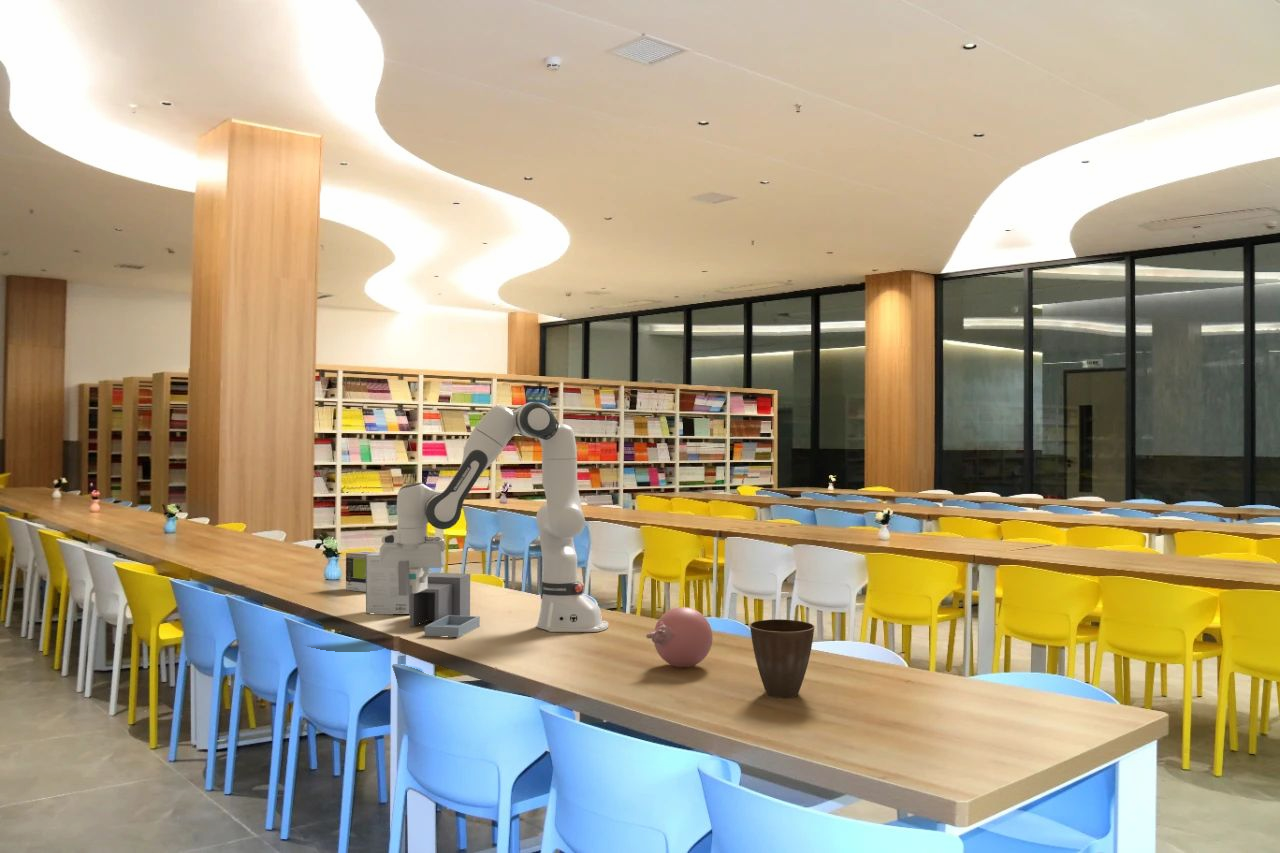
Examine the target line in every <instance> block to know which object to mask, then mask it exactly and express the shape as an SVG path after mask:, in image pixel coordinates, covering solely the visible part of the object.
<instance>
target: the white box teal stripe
mask: <svg viewBox="0 0 1280 853" xmlns="http://www.w3.org/2000/svg"><path fill="white" fill-rule="evenodd" d="M423 574H424V571H423V568H409V561H399V562H398V581H399V596H407V595H409V594H412V593H418V592H420V591H423V590H425V589H428V578H427V576H426V582H425V583H420V582H419V581H420V580H419V577H421V576H423Z"/></svg>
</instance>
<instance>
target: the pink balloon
mask: <svg viewBox="0 0 1280 853" xmlns="http://www.w3.org/2000/svg"><path fill="white" fill-rule="evenodd" d="M645 637H646V639H651V641H652V643H653V644H654V648H655V650H656V652H657V654H658V655H659V657H660V658H661V659H662V660H663V661H665V662H666V663H667V664H668V665H671V666H673V667H677V668H689V667H693V666H695V665H696V666H697V665H698V664H700V662H703V660H704V659H705V658H706V657H707V656H708V654H709V653H710V650H711V648H712V645H713V639H714V637H713V630H712V627H711V624H710V622H709V621H708V619H707V618H706V616H705V615H703V613H701V612H700V611H698V610H696V609H694V608H691V607H687V606H680V607H673V608H671V609H670V610H668V611H665V613H664V614H662V615H661V617H659V619H658V620H657V622H656V624H655V627H654V630H653V631H652V632H649V633H647V634H646V636H645Z"/></svg>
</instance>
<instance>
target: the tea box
mask: <svg viewBox="0 0 1280 853" xmlns="http://www.w3.org/2000/svg"><path fill="white" fill-rule="evenodd" d="M373 553H380V551H372V550H360V551H352V552H351V551H350V552H345V590H347V591H353V592H355V591H356V592H363V593H364V592H365V593H366V555H369V554H373Z"/></svg>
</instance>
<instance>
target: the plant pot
mask: <svg viewBox="0 0 1280 853" xmlns="http://www.w3.org/2000/svg"><path fill="white" fill-rule="evenodd" d="M749 628H750V635H751V636H750V637H751V641H752V642H751V643H752V648H753V653H754V657H755V662H756V666H757V669H758V673H759V676H760V679H761V682H762V685H763V688H764V691H765V693H766V695H768V696H771V697H774V698H784V699H785V698H794V697H797V696H798V695H799V692H800V690H801V687H802V685H803V682H804V679H805V676H806V671H807V669H808V665H809V661H810V657H811V652H812V646H813V640H814V635H815V633H814V632H815V625H813V624H812V623H811V622H807V621H802V620H793V619H779V618H778V619H775V618H774V619H763V620H761V619H760V620H756V621H753V622H751V623H750V624H749Z"/></svg>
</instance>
